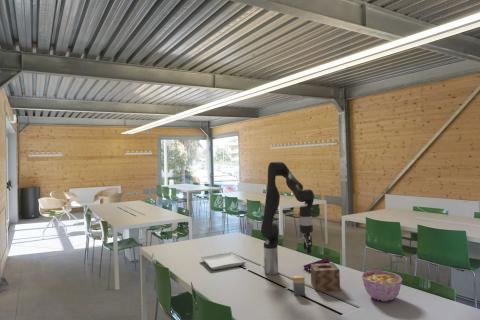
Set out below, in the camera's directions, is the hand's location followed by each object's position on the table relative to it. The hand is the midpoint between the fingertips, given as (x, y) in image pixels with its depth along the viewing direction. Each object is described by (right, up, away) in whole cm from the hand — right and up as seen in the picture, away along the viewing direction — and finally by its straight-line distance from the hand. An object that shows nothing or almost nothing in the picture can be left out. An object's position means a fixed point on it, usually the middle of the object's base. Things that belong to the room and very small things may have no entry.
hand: (307, 251), depth 195 cm
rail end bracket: (-6, -22, -7) cm, 24 cm away
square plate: (-52, -24, +53) cm, 78 cm away
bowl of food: (+37, -21, -16) cm, 45 cm away
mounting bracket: (+12, -22, +30) cm, 39 cm away
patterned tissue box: (+11, -22, +2) cm, 24 cm away
